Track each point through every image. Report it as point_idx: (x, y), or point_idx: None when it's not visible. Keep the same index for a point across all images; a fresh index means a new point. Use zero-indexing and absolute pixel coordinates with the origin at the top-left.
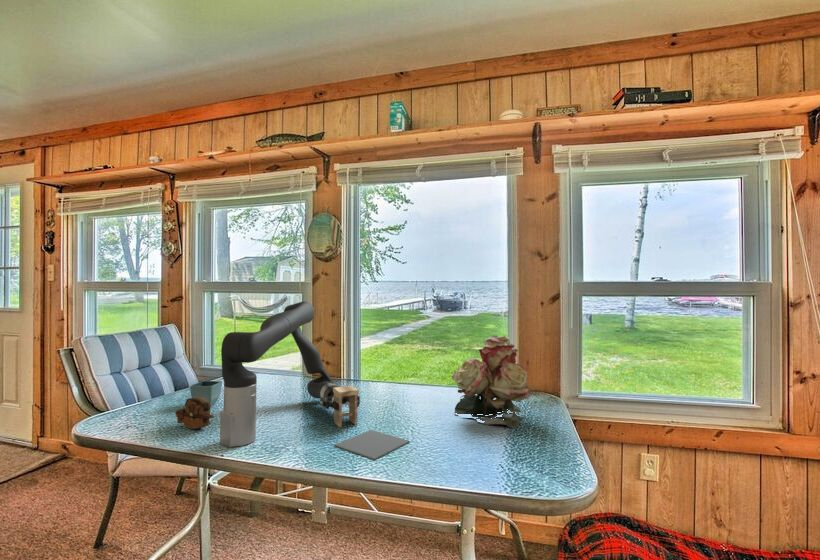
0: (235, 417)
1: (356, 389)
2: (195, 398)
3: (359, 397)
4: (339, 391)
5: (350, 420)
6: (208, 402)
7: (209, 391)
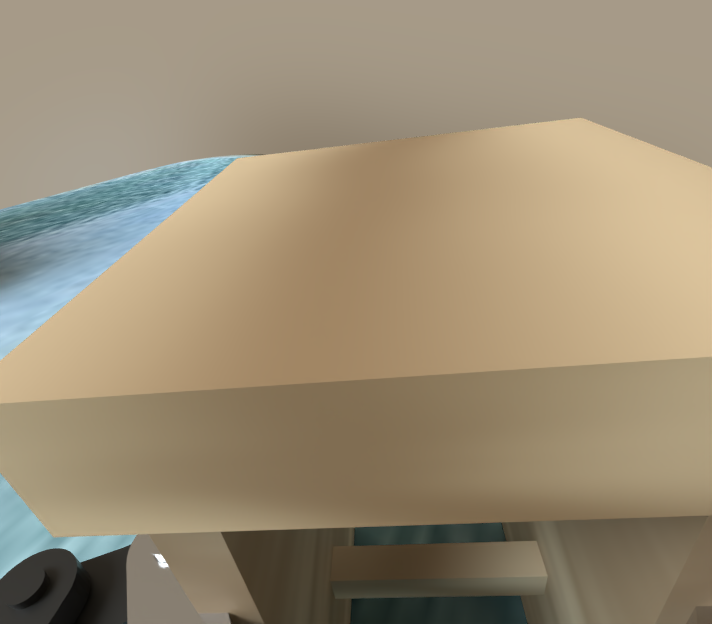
0: None
1: (245, 167)
2: None
3: (40, 554)
4: (590, 130)
5: None
6: None
7: None
